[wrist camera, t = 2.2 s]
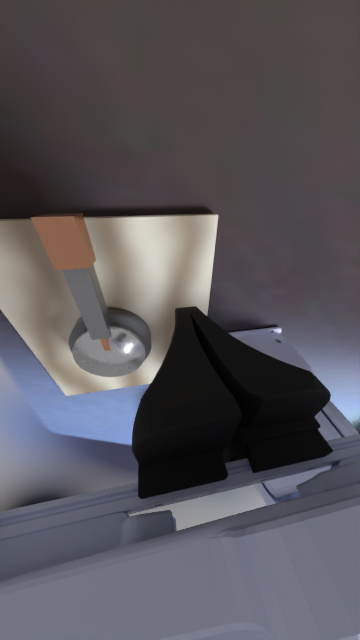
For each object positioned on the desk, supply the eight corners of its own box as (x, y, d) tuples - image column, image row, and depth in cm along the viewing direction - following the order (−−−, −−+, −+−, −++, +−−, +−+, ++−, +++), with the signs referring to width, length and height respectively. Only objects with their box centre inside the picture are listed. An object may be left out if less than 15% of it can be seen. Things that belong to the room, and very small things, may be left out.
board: (214, 213, 15) (225, 217, 13) (199, 370, 28) (203, 384, 26) (-53, 220, 12) (-90, 226, 10) (68, 389, 26) (62, 406, 24)
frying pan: (120, 212, 11) (116, 215, 10) (148, 365, 21) (148, 378, 20) (3, 214, 11) (-19, 218, 9) (88, 373, 20) (84, 387, 19)
